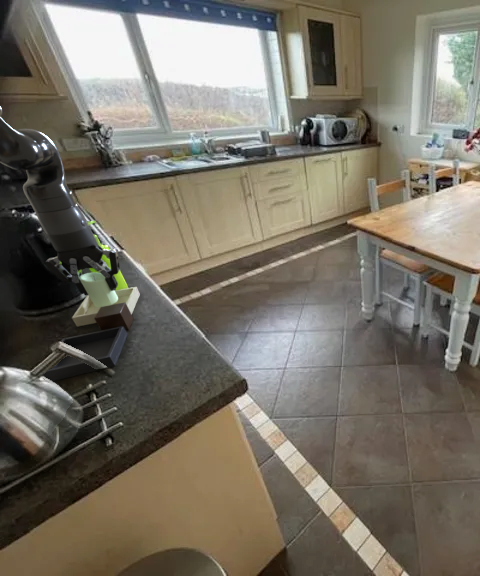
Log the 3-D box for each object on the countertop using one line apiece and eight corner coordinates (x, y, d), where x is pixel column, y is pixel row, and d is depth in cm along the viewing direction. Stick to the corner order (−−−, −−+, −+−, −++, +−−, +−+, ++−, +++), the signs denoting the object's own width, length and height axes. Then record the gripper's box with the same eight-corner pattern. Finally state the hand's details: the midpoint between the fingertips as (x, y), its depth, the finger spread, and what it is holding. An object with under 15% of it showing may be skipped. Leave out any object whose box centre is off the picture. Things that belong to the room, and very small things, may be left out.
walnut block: (103, 335, 76) (93, 318, 73) (109, 323, 80) (100, 306, 77) (129, 330, 78) (120, 313, 75) (133, 318, 82) (125, 302, 79)
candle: (121, 296, 87) (108, 268, 83) (114, 306, 83) (99, 277, 79) (100, 299, 86) (84, 271, 82) (91, 309, 82) (74, 280, 78)
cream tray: (76, 326, 79) (71, 318, 78) (91, 303, 88) (87, 295, 87) (131, 315, 83) (127, 307, 82) (140, 294, 92) (136, 286, 90)
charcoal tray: (46, 382, 64) (39, 373, 62) (68, 347, 72) (62, 338, 71) (115, 366, 67) (109, 356, 66) (127, 334, 76) (123, 325, 75)
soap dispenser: (134, 283, 97) (103, 218, 87) (122, 295, 91) (88, 227, 81) (112, 285, 96) (78, 219, 86) (98, 297, 90) (61, 229, 80)
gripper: (109, 218, 79) (137, 279, 88) (34, 226, 75) (71, 290, 83) (100, 227, 73) (131, 292, 82) (17, 238, 69) (60, 305, 77)
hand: (101, 291), depth 83 cm, fingers closed on candle, 4 cm apart
